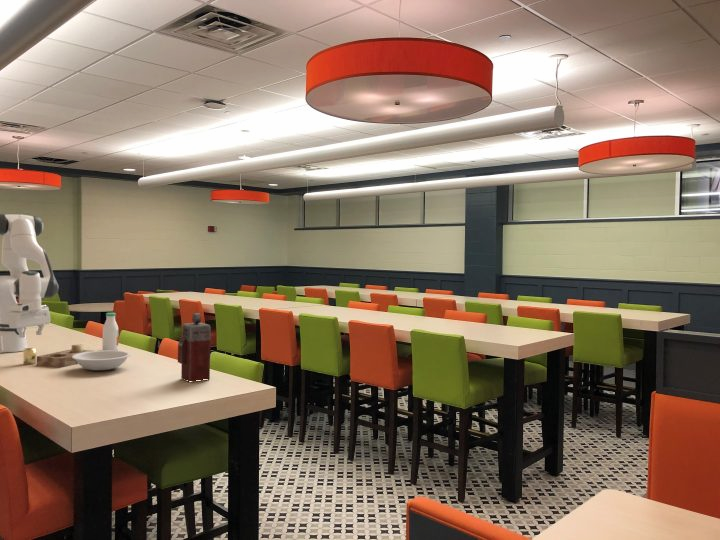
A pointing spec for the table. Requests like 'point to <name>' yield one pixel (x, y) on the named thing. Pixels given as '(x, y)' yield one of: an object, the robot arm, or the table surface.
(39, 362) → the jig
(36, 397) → the table surface
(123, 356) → the soup bowl
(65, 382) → the table surface
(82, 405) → the table surface
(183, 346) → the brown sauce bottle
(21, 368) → the table surface
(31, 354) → the bushing
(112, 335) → the milk bottle
